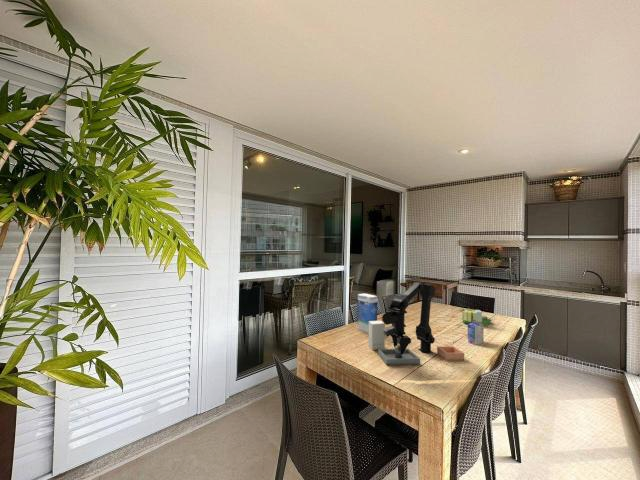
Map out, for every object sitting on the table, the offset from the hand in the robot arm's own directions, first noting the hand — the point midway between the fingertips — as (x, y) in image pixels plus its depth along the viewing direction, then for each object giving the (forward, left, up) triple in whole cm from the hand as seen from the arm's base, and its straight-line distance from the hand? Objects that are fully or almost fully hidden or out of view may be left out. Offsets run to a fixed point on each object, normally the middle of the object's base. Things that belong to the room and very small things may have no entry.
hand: (398, 350), depth 151 cm
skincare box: (-17, -7, -5) cm, 19 cm away
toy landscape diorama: (-66, +92, -5) cm, 113 cm away
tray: (0, 0, -5) cm, 5 cm away
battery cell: (0, 0, -4) cm, 4 cm away
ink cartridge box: (-23, +61, -5) cm, 65 cm away
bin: (-2, +31, -5) cm, 31 cm away
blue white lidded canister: (-49, -4, -5) cm, 49 cm away
